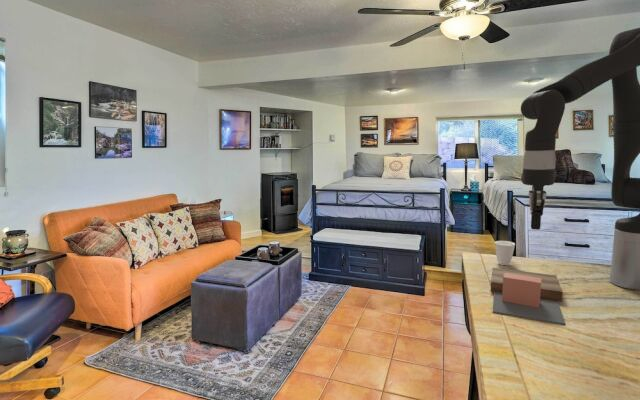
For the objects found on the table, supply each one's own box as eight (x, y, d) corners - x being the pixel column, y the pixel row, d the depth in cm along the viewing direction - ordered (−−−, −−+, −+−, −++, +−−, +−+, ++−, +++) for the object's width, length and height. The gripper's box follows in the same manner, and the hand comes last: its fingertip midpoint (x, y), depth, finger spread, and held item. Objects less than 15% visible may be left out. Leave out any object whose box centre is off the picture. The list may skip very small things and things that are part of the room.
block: (504, 272, 102) (503, 277, 98) (541, 278, 97) (541, 283, 94) (503, 295, 103) (501, 300, 99) (539, 302, 98) (539, 307, 95)
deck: (492, 276, 119) (492, 267, 119) (555, 284, 111) (556, 275, 111) (490, 291, 107) (491, 281, 107) (561, 301, 99) (562, 291, 98)
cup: (489, 263, 132) (490, 242, 131) (501, 258, 138) (502, 238, 137) (509, 268, 127) (510, 246, 125) (520, 262, 133) (522, 241, 132)
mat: (494, 293, 106) (494, 291, 106) (557, 302, 98) (558, 301, 98) (492, 312, 93) (492, 311, 93) (565, 325, 86) (565, 323, 86)
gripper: (558, 169, 89) (554, 235, 91) (552, 165, 100) (548, 224, 103) (524, 169, 92) (521, 233, 95) (521, 165, 104) (519, 223, 106)
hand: (535, 228), depth 99 cm, fingers closed
